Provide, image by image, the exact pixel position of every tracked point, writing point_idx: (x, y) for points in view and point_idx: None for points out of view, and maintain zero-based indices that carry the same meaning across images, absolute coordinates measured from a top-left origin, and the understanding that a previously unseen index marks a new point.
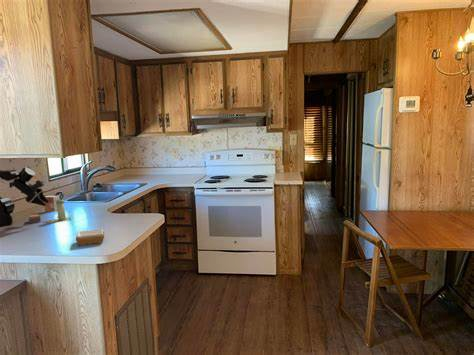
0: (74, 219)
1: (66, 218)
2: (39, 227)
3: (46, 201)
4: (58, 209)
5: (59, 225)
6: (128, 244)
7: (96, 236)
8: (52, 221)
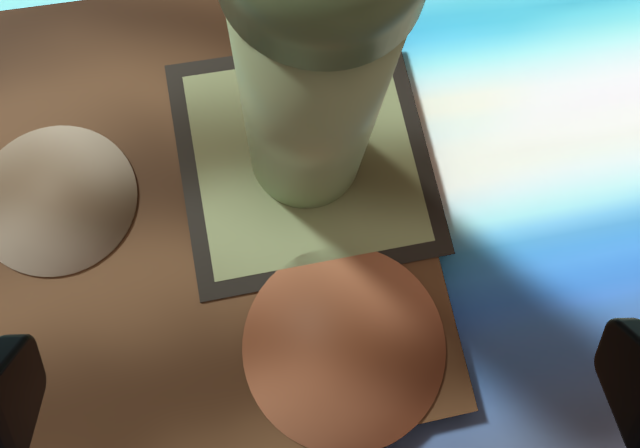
0: None
1: None
2: None
3: (17, 425)
4: (380, 99)
5: (585, 157)
6: None
7: None
8: (373, 286)
